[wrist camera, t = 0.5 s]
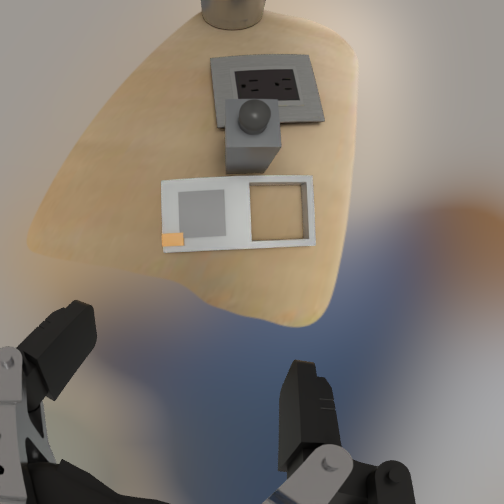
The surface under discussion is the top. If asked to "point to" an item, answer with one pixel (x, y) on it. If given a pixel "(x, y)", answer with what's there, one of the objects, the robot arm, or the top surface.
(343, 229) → the top surface
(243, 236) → the grey rectangular frame
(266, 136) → the plug
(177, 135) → the top surface
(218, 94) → the electrical outlet
